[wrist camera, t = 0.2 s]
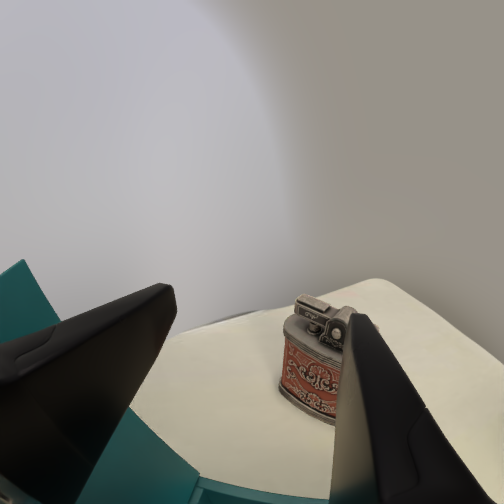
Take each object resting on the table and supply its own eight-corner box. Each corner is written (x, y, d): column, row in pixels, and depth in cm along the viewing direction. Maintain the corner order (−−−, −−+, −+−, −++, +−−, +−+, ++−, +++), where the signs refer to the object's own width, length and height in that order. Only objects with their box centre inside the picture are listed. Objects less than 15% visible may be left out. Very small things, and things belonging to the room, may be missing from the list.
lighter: (368, 408, 22) (405, 319, 18) (349, 436, 20) (387, 350, 15) (293, 369, 27) (303, 279, 22) (270, 391, 25) (274, 300, 20)
